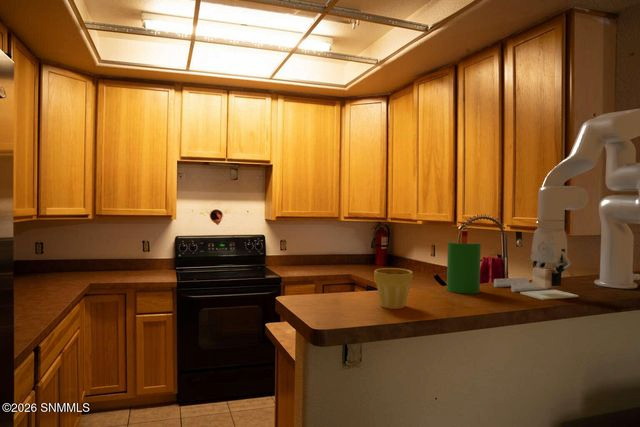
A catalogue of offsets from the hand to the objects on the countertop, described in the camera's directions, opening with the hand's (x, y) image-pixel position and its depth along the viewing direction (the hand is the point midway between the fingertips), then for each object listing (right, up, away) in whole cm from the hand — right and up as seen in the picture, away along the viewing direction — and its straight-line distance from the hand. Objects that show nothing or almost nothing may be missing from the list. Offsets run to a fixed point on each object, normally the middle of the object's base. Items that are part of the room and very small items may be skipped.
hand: (548, 283), depth 144 cm
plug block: (-1, -1, 0) cm, 2 cm away
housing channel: (-4, -3, +12) cm, 13 cm away
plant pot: (-51, -4, -17) cm, 54 cm away
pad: (0, -4, 0) cm, 4 cm away
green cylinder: (-25, -3, +5) cm, 26 cm away
